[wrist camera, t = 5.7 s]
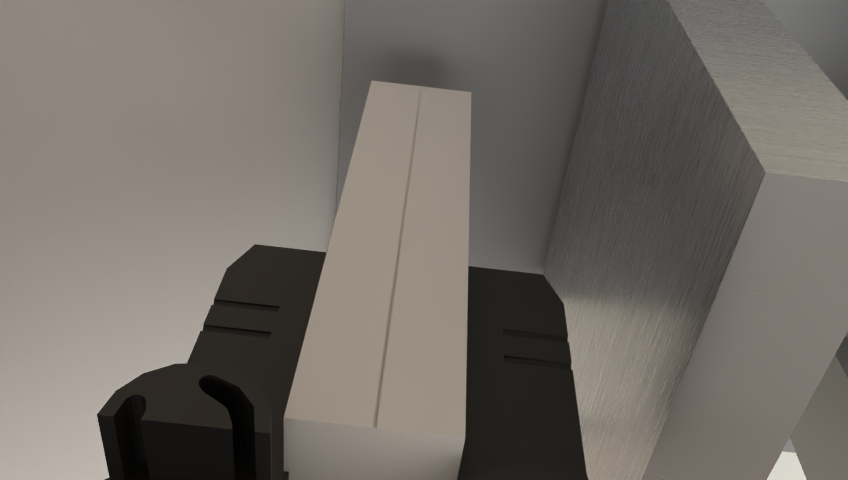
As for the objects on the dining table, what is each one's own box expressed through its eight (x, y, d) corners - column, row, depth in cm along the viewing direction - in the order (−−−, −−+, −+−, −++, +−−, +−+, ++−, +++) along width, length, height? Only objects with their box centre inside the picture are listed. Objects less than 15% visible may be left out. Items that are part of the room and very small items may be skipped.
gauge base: (335, 365, 20) (252, 769, 13) (368, -319, 12) (190, -296, 4) (871, 424, 20) (1097, 857, 13) (1269, -209, 12) (2512, -12, 5)
